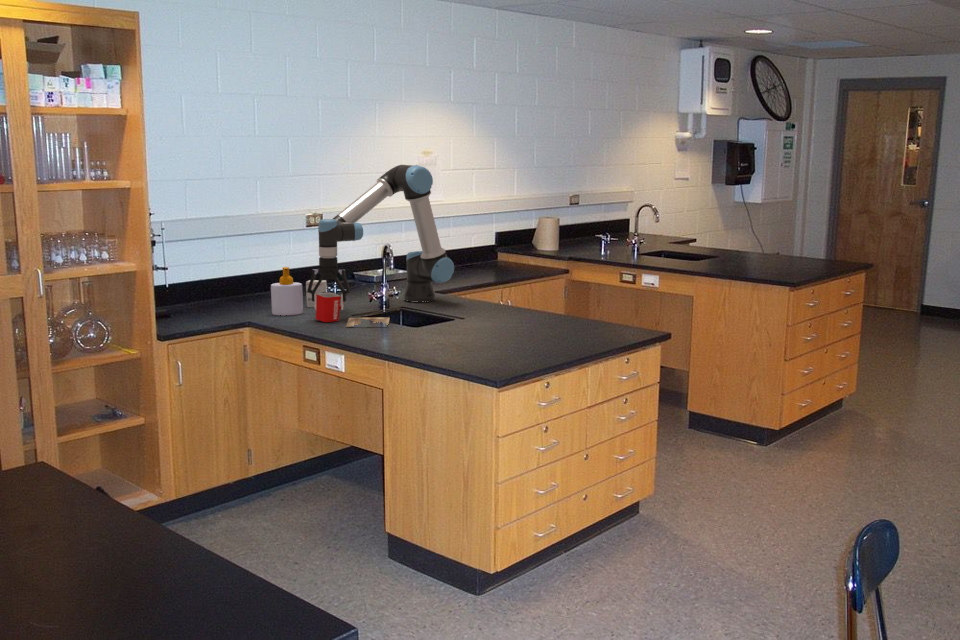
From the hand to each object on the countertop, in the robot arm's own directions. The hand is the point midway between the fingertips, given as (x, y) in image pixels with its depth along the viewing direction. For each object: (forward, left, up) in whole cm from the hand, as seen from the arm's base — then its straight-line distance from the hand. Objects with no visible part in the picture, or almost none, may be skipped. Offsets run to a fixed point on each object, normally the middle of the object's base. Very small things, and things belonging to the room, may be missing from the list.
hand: (329, 309), depth 392 cm
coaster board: (-17, +7, -5) cm, 19 cm away
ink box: (+8, -30, -5) cm, 32 cm away
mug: (-1, 0, -5) cm, 5 cm away
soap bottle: (+19, -14, -5) cm, 24 cm away
